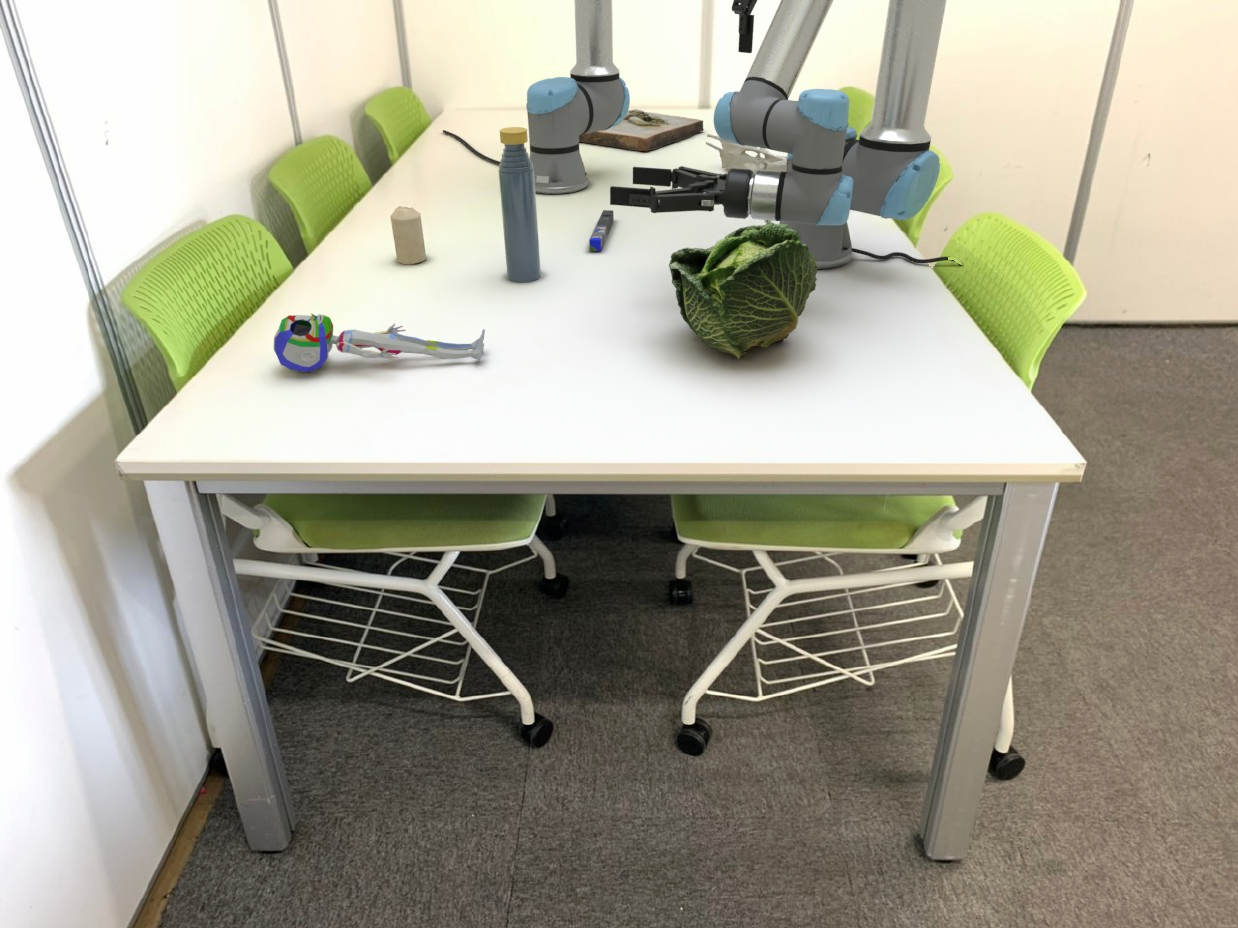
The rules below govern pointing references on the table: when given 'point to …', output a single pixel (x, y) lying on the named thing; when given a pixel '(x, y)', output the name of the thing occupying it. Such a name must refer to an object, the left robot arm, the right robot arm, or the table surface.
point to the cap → (513, 135)
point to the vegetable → (744, 287)
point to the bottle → (519, 214)
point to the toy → (354, 343)
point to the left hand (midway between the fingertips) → (766, 48)
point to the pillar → (601, 230)
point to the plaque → (645, 131)
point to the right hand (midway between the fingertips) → (622, 185)
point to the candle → (408, 235)
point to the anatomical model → (747, 157)
